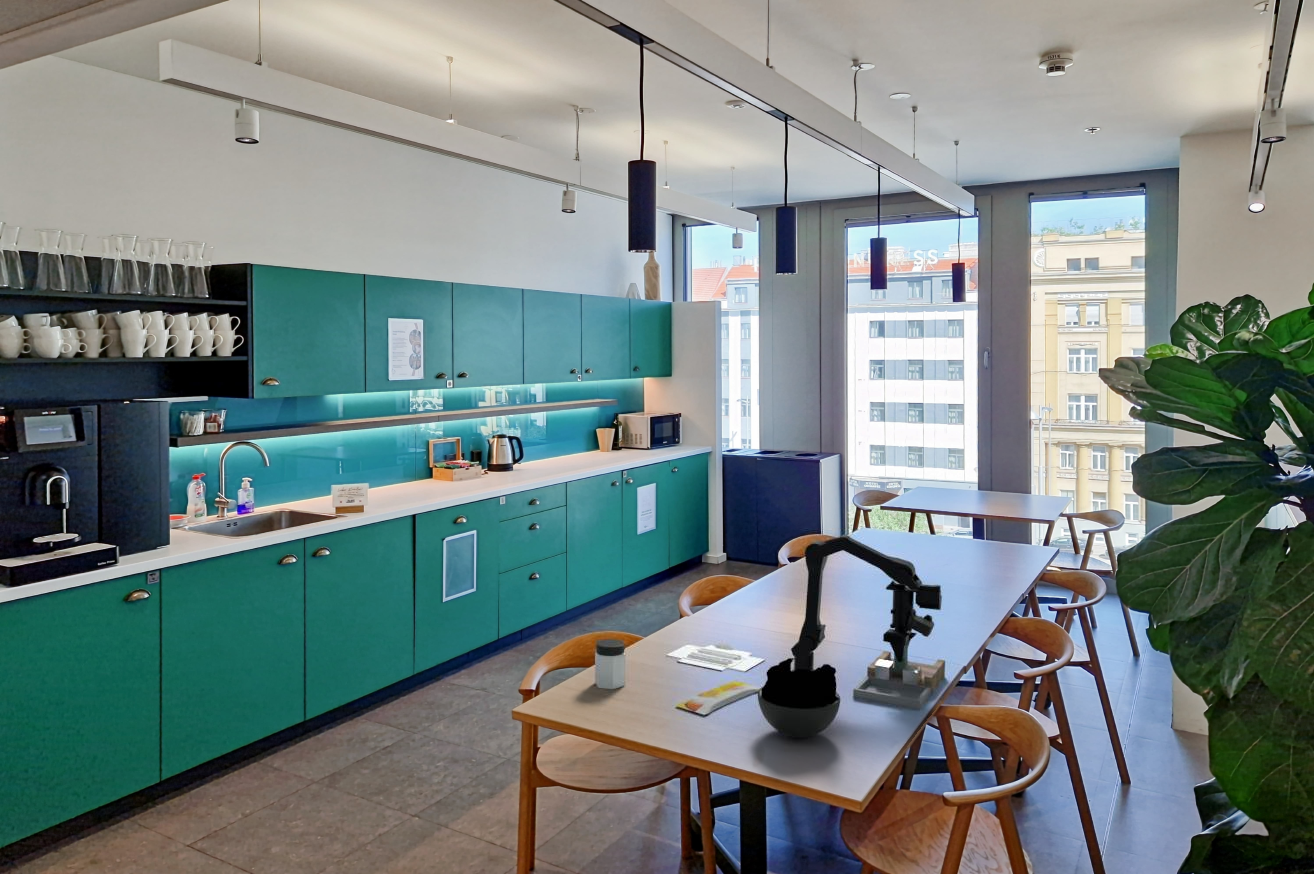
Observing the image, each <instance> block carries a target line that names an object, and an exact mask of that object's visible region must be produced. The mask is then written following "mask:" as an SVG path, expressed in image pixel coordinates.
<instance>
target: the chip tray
mask: <svg viewBox="0 0 1314 874" xmlns="http://www.w3.org/2000/svg"><path fill="white" fill-rule="evenodd" d="M852 693H853V695H852V696H853V697H852V698H853V699H855V700H856V699H857V700H861V701H865V702H866V701H867V702H871V703H872V702H874V703H878V704H884V705H888V706H889V705H890V706H894V707H901V708H904V709H911V710H915V711H921V710H922V708H923V707H924V705H925V704H926V703H927V701H928V700H929V699H930V698H931V696H932V695H931V687H929V686H923V685H918V686H915V685H910V684H904V683H903V682H900V681H894V680H884V679H878V678H875V677H871V676H867V675H866V676H865V677H864V678H863V679H862V680H861V681H860V682H859V683H858V684H857V685H856V686H855V687H854V688H853V692H852Z"/></svg>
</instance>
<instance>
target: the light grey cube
mask: <svg viewBox="0 0 1314 874" xmlns="http://www.w3.org/2000/svg"><path fill="white" fill-rule="evenodd" d="M920 681H921V666H915V665H909V664H906V666H905V667H904V669H903V683H904V684H910V685H915V686H918V684H919V682H920Z"/></svg>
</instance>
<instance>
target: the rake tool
mask: <svg viewBox="0 0 1314 874" xmlns="http://www.w3.org/2000/svg"><path fill="white" fill-rule="evenodd" d="M908 649H909V646H908V643H907V644H906V645H905V650H904V655H903V659H902V662H898V661H897V658H896V656H895V654H894V653H893V659H894V664H893V676H897V677H903V669H904V667H905V666H906V664H908V658H909V657H908V656H909V655H908V653H909V652H908V651H909V650H908ZM921 677H922V669H921Z"/></svg>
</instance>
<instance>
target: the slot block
mask: <svg viewBox="0 0 1314 874" xmlns="http://www.w3.org/2000/svg"><path fill="white" fill-rule="evenodd" d="M879 659H880V660H886V661H892V662H893V664H894V658H892V651H887V650H884V651H883V652H882V653H880V654H879V655H878V657H876V658H875V659H874V660H873V661H872V662H871V663H870V664H869V665H868V666H867V671H866V672H867V675H866V676H871V677H875V664H876V663H877V662H878V661H879ZM908 664H909V665H915V666H921V669H922V677H921V681H920V682H919V684H918V685H923V686H929V687H931V696H932V694H933V693H934V692H935V691H936V690H937V688H939V686H940V684H941V682H943V680H944V679H945V676H946V674H945V672H946V660H944V659H937V660H936V661H935V663H934V664H927V663H923V662H922V663H921V662H915V661H908ZM890 680H894V681H900V682H903V677H897V676H892V677H891V679H890Z"/></svg>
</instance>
